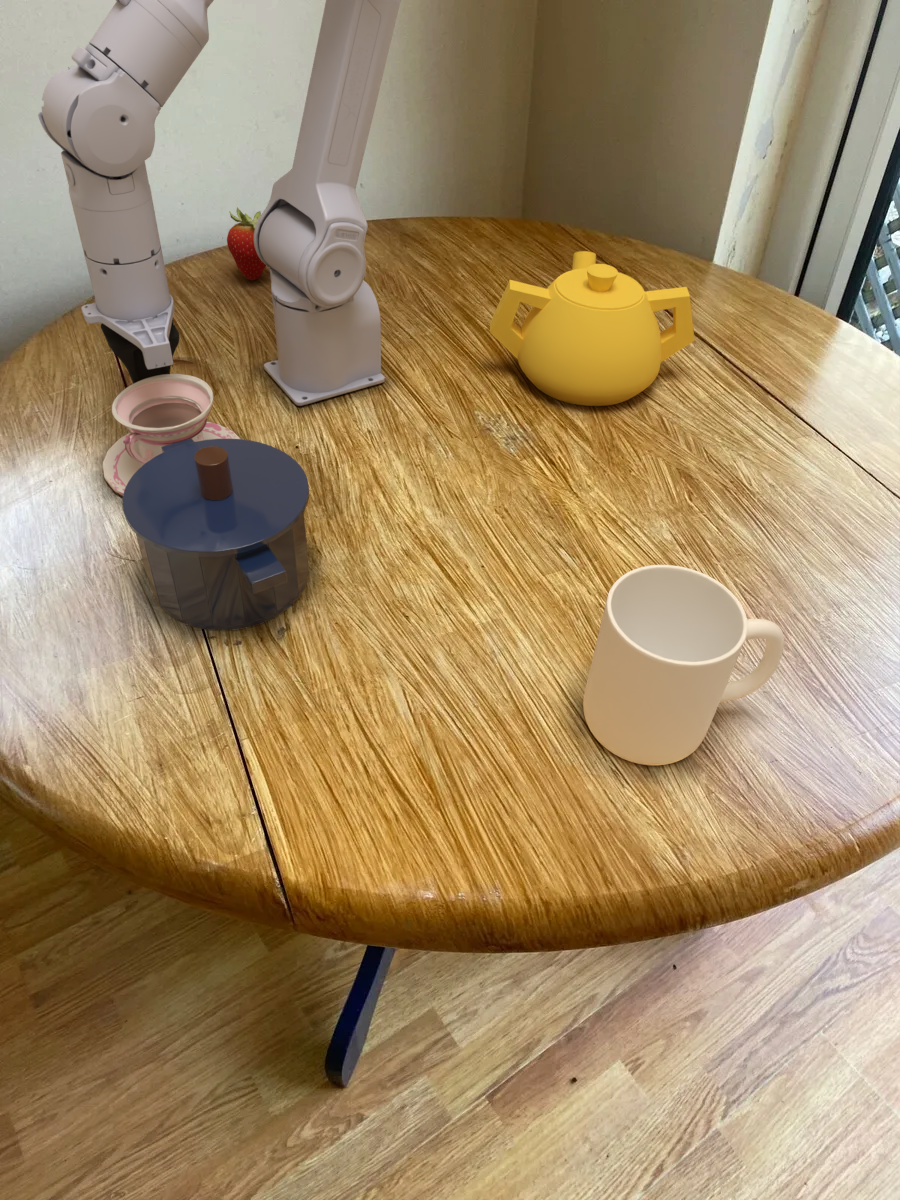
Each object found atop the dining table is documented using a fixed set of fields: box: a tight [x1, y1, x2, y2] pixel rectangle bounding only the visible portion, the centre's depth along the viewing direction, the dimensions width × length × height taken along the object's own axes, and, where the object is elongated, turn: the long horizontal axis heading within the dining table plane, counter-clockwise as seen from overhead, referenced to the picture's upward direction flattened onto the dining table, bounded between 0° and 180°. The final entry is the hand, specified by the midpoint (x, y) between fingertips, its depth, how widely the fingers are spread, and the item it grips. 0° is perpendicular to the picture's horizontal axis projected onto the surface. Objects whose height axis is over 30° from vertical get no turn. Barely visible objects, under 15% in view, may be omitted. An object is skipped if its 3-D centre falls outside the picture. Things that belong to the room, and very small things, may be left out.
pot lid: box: [121, 438, 310, 557], centre depth 62 cm, size 13×13×4 cm
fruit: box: [226, 207, 267, 281], centre depth 100 cm, size 5×5×8 cm
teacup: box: [102, 373, 241, 497], centre depth 75 cm, size 12×12×6 cm
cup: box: [582, 564, 785, 766], centre depth 57 cm, size 8×12×10 cm
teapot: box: [489, 250, 696, 407], centre depth 89 cm, size 20×18×11 cm
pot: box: [135, 439, 310, 632], centre depth 66 cm, size 12×17×8 cm
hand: (154, 401), depth 79 cm, fingers closed
